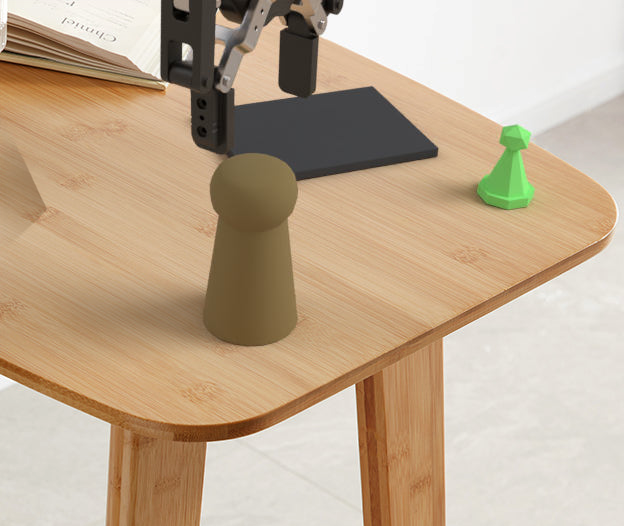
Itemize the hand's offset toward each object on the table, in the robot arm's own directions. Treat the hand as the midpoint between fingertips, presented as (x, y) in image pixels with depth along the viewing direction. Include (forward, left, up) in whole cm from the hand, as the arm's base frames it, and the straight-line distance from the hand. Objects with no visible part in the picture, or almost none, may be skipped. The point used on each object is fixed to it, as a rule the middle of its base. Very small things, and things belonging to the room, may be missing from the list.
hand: (256, 119), depth 64 cm
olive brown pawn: (0, 0, -14) cm, 14 cm away
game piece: (+24, +8, -14) cm, 29 cm away
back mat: (+14, +21, -14) cm, 29 cm away
